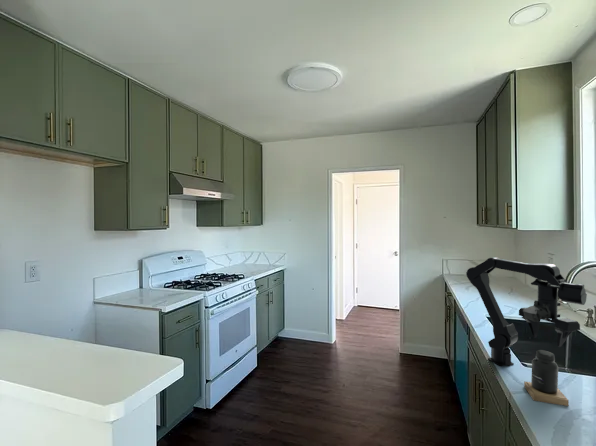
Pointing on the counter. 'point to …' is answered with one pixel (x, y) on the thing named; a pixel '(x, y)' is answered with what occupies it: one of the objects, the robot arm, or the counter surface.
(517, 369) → the counter surface
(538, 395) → the square wooden coaster
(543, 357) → the supplement bottle
